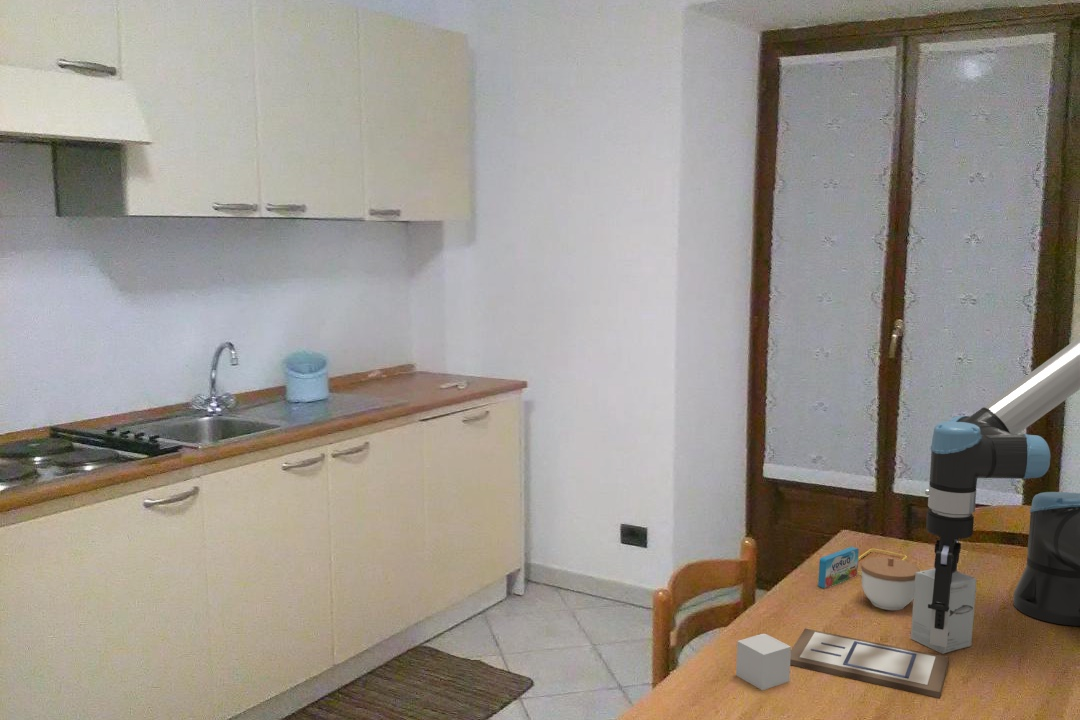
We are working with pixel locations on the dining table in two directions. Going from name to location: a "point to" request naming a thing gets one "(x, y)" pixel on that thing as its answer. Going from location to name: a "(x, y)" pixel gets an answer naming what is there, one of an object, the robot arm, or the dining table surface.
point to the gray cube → (763, 661)
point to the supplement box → (958, 614)
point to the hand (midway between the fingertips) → (941, 633)
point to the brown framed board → (870, 662)
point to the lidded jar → (888, 582)
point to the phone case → (877, 552)
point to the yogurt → (838, 567)
